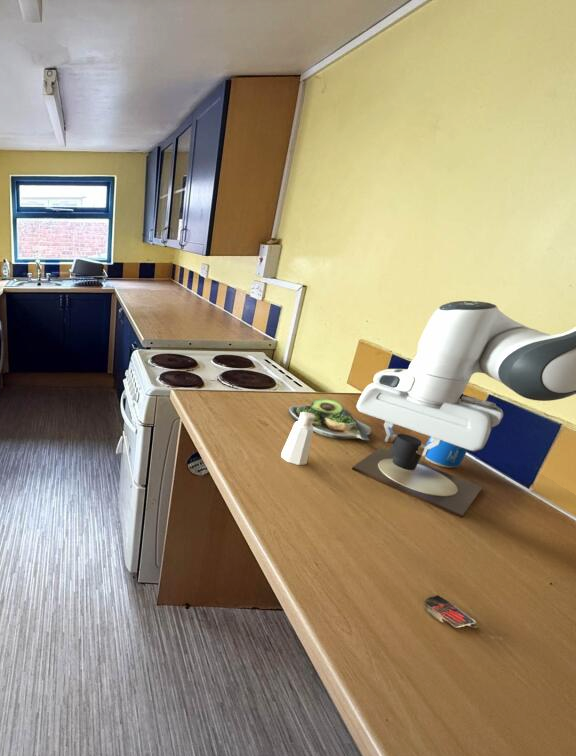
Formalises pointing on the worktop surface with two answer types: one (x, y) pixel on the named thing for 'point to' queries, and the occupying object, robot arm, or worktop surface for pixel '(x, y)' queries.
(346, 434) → the salad plate
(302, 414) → the pepper shaker
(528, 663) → the worktop surface
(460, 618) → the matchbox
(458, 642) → the worktop surface
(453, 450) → the beverage can
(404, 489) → the board
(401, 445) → the dot right
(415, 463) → the dot left
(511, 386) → the robot arm
